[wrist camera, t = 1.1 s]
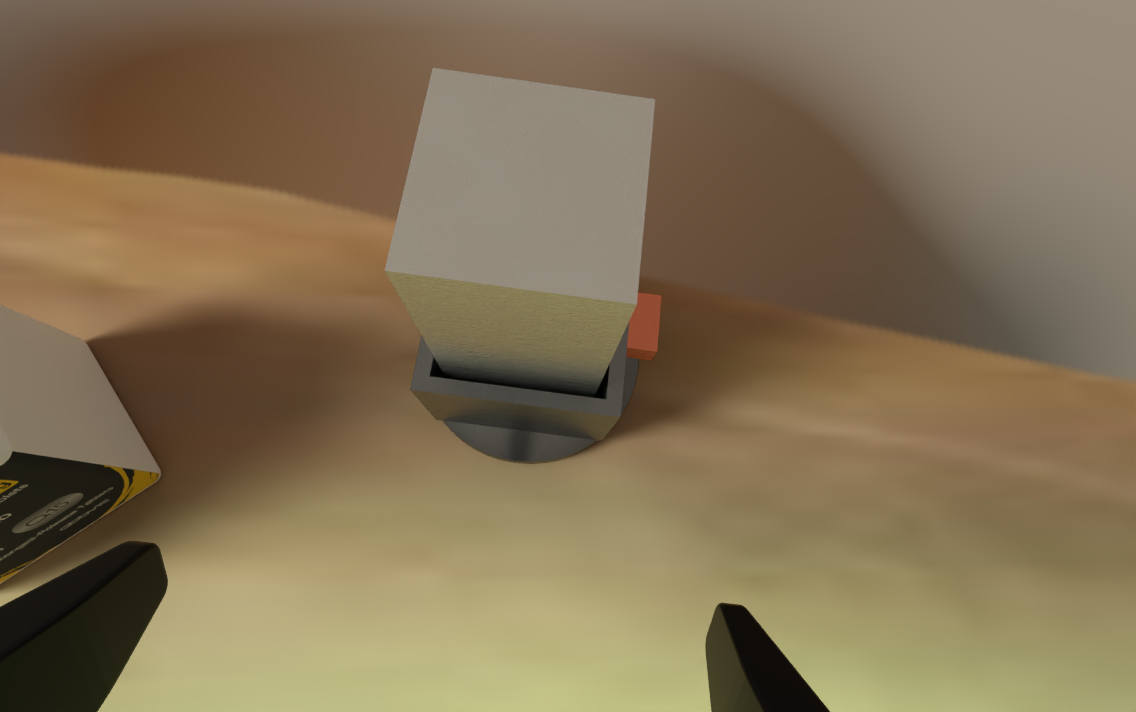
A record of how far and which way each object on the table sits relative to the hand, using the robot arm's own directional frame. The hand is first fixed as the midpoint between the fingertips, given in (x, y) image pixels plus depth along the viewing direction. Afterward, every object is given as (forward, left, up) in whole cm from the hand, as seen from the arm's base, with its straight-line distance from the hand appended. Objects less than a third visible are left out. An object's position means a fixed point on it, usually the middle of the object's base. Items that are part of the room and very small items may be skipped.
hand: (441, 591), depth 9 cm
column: (+7, -4, -13) cm, 16 cm away
